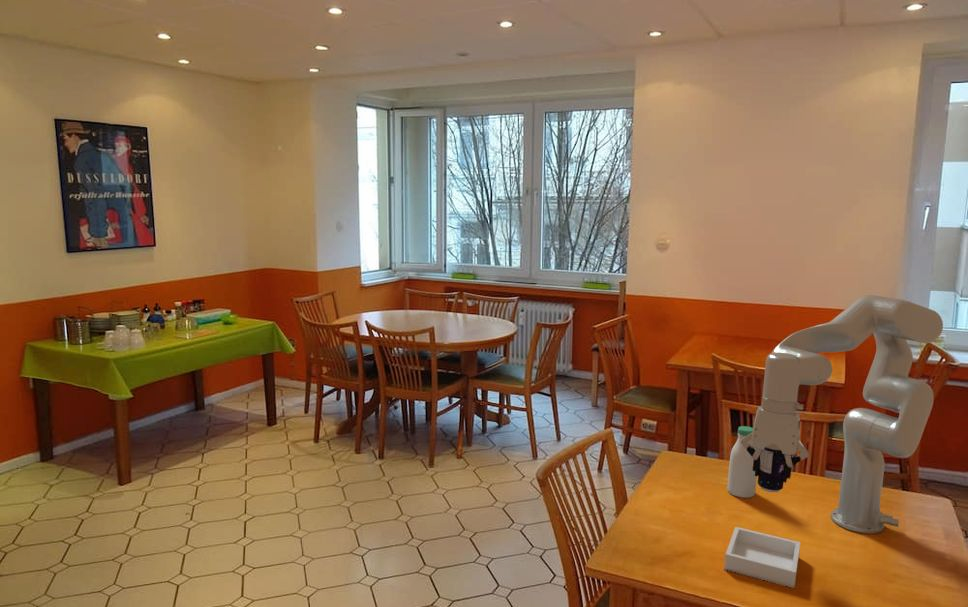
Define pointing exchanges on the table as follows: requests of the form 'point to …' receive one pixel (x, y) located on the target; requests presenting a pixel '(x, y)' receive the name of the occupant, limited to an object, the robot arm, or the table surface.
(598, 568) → the table surface
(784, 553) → the box
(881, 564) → the table surface
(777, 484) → the beverage can
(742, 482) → the milk bottle
